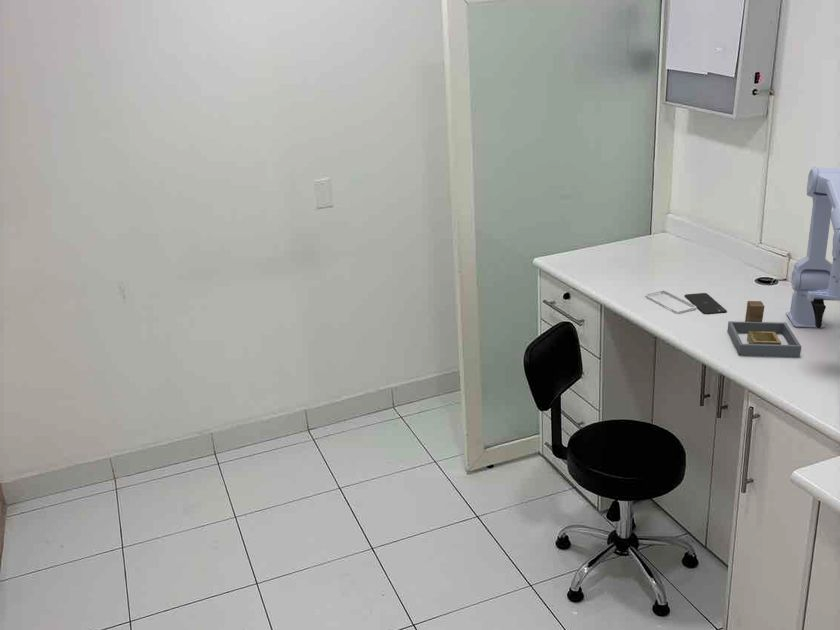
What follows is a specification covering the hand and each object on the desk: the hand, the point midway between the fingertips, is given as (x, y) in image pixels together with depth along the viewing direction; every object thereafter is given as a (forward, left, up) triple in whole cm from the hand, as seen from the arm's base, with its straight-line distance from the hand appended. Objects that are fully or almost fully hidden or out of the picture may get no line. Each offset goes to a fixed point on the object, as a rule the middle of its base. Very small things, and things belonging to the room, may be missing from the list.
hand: (834, 327), depth 211 cm
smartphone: (-37, -24, -10) cm, 45 cm away
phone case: (-37, -34, -11) cm, 51 cm away
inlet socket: (-9, -14, -10) cm, 19 cm away
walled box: (-10, -14, -10) cm, 20 cm away
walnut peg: (-21, -14, -10) cm, 27 cm away
